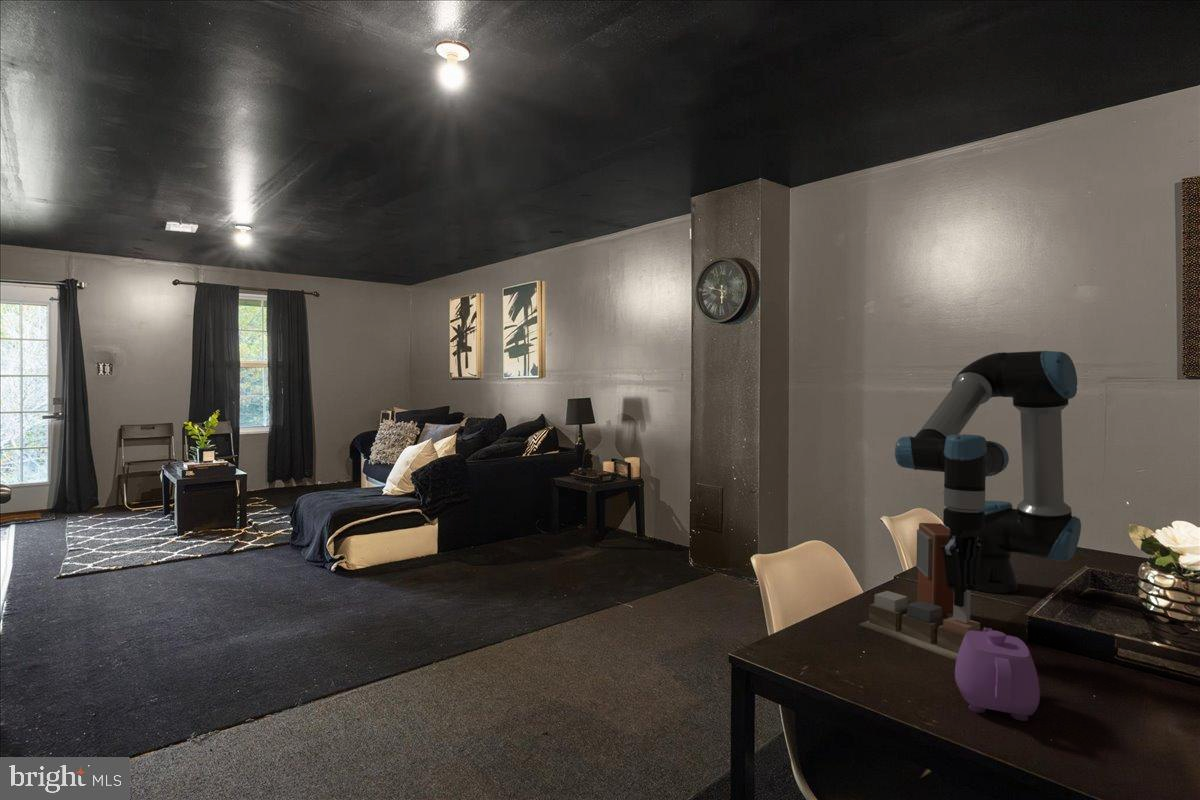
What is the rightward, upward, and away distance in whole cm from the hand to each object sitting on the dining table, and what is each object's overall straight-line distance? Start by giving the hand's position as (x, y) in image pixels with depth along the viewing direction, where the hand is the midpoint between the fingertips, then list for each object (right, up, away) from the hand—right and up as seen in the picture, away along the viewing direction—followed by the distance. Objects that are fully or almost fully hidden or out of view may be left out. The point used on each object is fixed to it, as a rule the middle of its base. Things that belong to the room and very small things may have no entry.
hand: (961, 620), depth 135 cm
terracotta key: (0, -4, 0) cm, 4 cm away
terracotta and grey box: (+5, -6, +19) cm, 20 cm away
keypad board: (-4, -6, +7) cm, 10 cm away
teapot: (-7, -7, -22) cm, 24 cm away
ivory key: (-9, -3, +13) cm, 16 cm away
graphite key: (-4, -3, +7) cm, 9 cm away
